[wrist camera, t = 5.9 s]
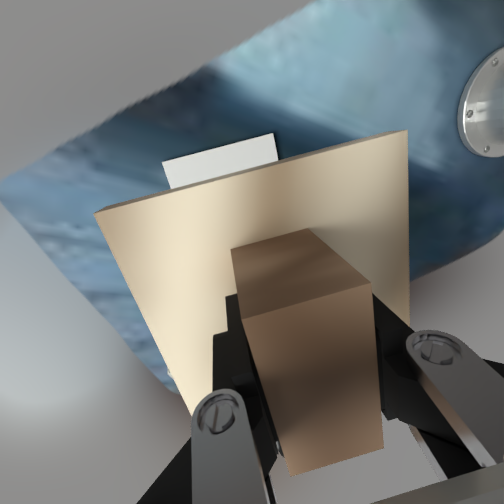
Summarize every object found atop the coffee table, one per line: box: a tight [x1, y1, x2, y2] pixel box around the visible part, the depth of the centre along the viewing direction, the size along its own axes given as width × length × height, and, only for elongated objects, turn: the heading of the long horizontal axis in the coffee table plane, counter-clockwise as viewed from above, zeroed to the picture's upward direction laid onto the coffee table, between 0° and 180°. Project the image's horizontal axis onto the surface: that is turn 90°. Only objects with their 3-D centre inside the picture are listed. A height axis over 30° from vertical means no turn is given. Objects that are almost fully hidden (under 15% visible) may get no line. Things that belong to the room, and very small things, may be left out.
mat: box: [162, 133, 278, 189], centre depth 33 cm, size 13×13×1 cm
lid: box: [93, 130, 410, 476], centre depth 10 cm, size 11×11×6 cm
